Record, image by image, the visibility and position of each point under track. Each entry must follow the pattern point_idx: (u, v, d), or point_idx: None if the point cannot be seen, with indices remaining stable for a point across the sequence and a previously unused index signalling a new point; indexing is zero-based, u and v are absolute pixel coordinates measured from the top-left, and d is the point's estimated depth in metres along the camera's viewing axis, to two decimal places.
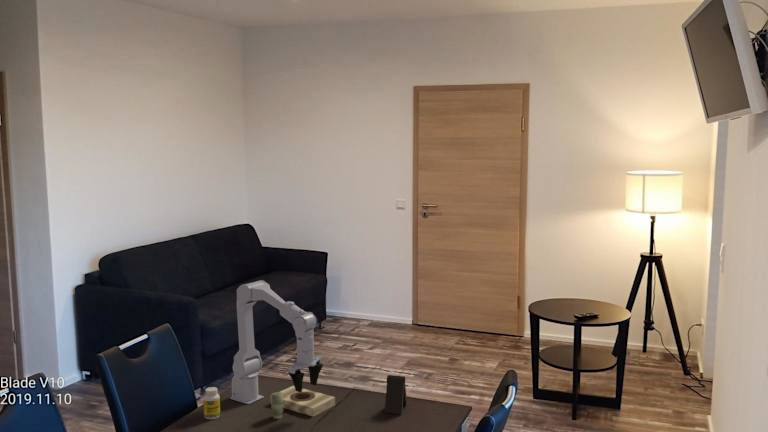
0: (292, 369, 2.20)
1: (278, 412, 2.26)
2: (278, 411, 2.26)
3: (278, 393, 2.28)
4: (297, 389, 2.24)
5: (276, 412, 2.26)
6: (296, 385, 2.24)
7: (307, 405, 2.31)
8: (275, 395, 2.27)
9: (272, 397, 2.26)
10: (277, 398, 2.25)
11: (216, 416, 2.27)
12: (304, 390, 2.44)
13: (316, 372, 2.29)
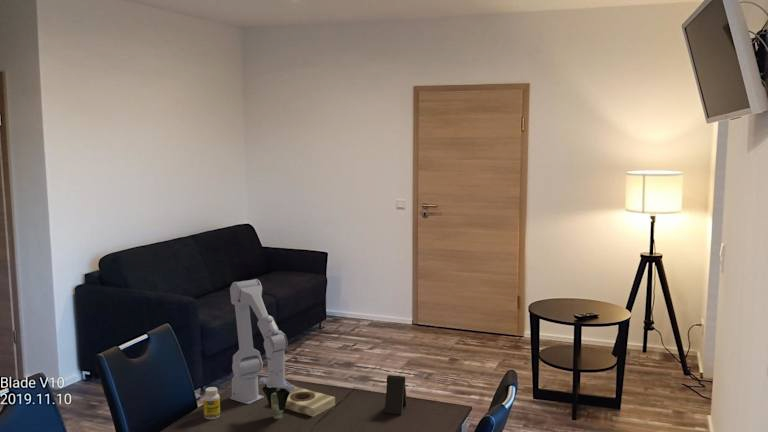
0: None
1: (278, 412, 2.26)
2: (278, 411, 2.26)
3: None
4: None
5: (276, 412, 2.26)
6: None
7: (307, 405, 2.31)
8: (275, 395, 2.27)
9: (272, 397, 2.26)
10: (277, 398, 2.25)
11: (216, 416, 2.27)
12: (304, 390, 2.44)
13: None
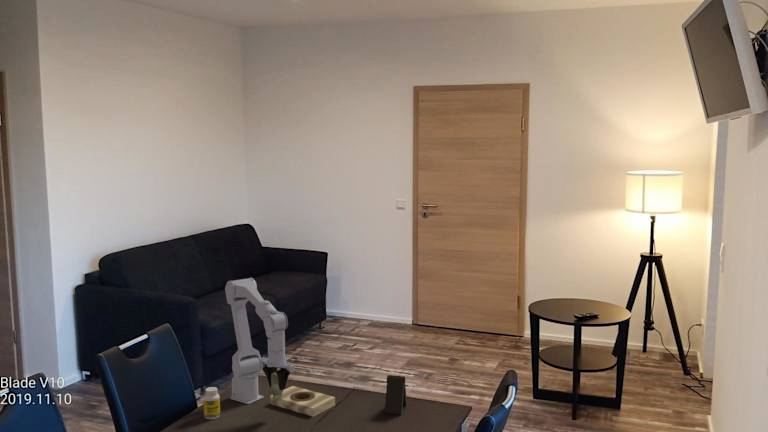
0: None
1: (278, 392, 2.26)
2: (278, 391, 2.26)
3: None
4: None
5: (276, 392, 2.25)
6: None
7: (307, 405, 2.31)
8: (275, 374, 2.26)
9: (272, 377, 2.25)
10: (277, 378, 2.25)
11: (216, 416, 2.27)
12: (304, 390, 2.44)
13: None
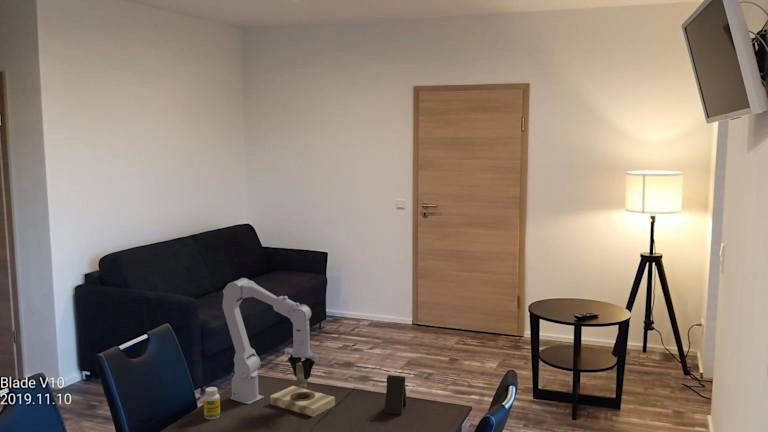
0: None
1: (303, 381, 2.36)
2: (303, 380, 2.36)
3: None
4: None
5: (301, 381, 2.36)
6: None
7: (307, 405, 2.31)
8: (300, 364, 2.37)
9: (297, 366, 2.36)
10: None
11: (216, 416, 2.27)
12: (304, 390, 2.44)
13: None
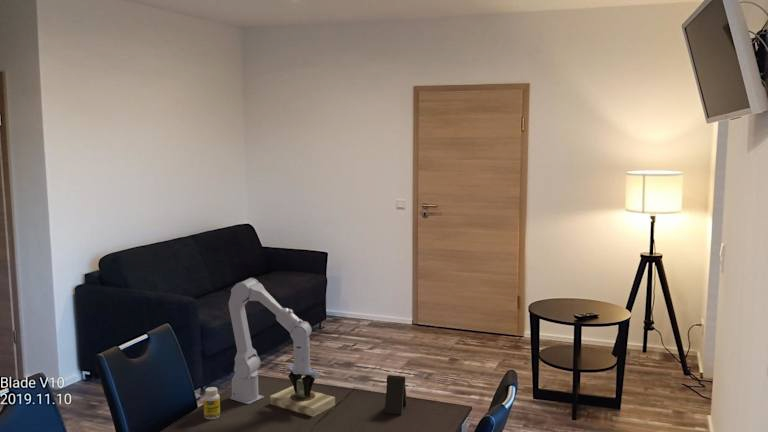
0: None
1: (303, 398, 2.37)
2: (303, 397, 2.37)
3: None
4: None
5: (302, 398, 2.37)
6: None
7: (307, 405, 2.31)
8: (301, 381, 2.37)
9: (298, 383, 2.36)
10: (303, 385, 2.36)
11: (216, 416, 2.27)
12: None
13: None
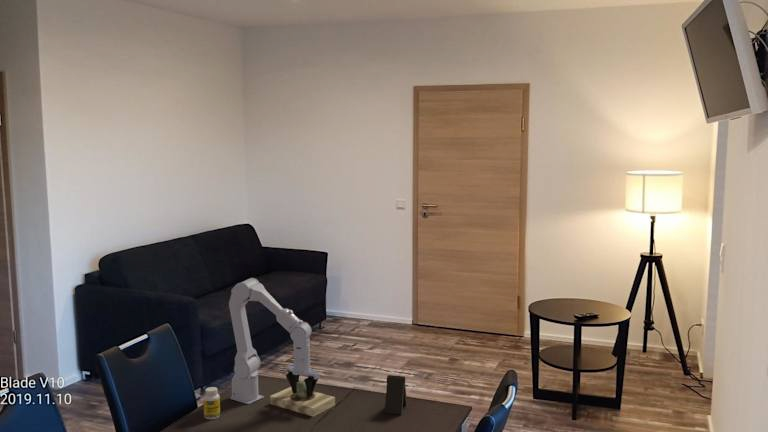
0: None
1: None
2: None
3: (303, 382, 2.39)
4: None
5: None
6: None
7: (307, 405, 2.31)
8: (300, 383, 2.37)
9: (298, 385, 2.37)
10: (303, 387, 2.36)
11: (216, 416, 2.27)
12: None
13: None
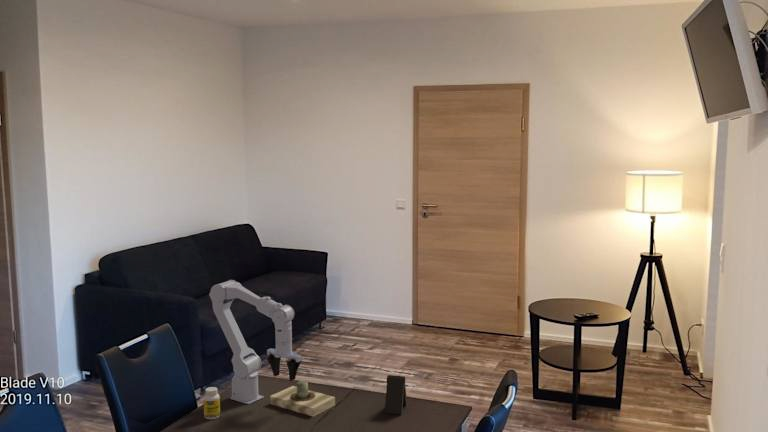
0: None
1: None
2: None
3: (303, 382, 2.39)
4: None
5: None
6: None
7: (307, 405, 2.31)
8: (301, 383, 2.37)
9: (298, 385, 2.37)
10: (303, 387, 2.36)
11: (216, 416, 2.27)
12: None
13: None
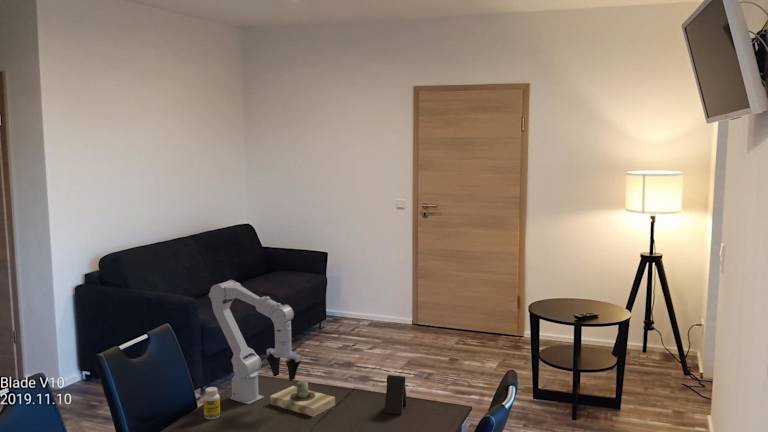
0: None
1: None
2: None
3: (303, 382, 2.39)
4: None
5: None
6: None
7: (307, 405, 2.31)
8: (300, 383, 2.37)
9: (298, 385, 2.37)
10: (303, 387, 2.36)
11: (216, 416, 2.27)
12: None
13: None
